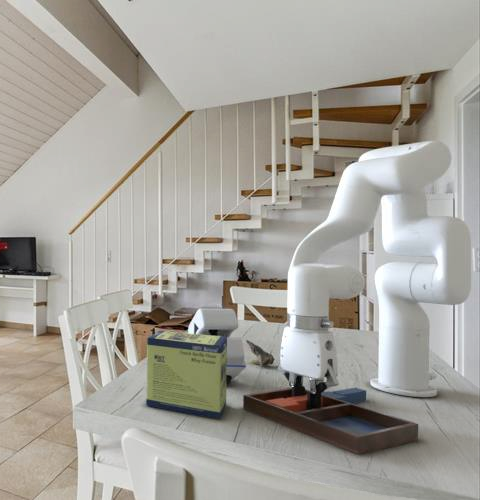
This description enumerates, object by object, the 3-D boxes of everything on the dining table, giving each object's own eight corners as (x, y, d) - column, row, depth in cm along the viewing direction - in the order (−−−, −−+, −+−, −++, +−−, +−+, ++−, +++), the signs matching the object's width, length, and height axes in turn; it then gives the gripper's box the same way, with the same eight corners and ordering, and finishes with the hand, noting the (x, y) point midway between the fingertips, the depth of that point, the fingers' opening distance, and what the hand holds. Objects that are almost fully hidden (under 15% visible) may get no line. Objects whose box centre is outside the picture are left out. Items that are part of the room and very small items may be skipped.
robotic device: (228, 401, 132) (214, 334, 143) (256, 375, 114) (238, 300, 125) (189, 400, 133) (178, 333, 144) (211, 373, 115) (197, 300, 126)
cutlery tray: (297, 399, 111) (297, 386, 111) (418, 440, 88) (418, 423, 88) (243, 408, 105) (243, 394, 105) (358, 454, 83) (358, 437, 83)
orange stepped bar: (308, 403, 106) (308, 392, 106) (326, 409, 103) (326, 398, 102) (265, 410, 102) (265, 399, 102) (282, 417, 98) (282, 405, 98)
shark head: (240, 363, 143) (240, 341, 143) (251, 360, 147) (251, 338, 147) (267, 369, 137) (267, 346, 136) (278, 366, 140) (278, 343, 140)
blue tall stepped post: (351, 396, 113) (352, 386, 113) (370, 402, 109) (370, 391, 109) (313, 403, 109) (313, 392, 109) (330, 409, 105) (331, 398, 105)
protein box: (221, 420, 99) (222, 345, 98) (145, 406, 107) (145, 337, 106) (227, 405, 107) (228, 336, 107) (156, 393, 116) (157, 329, 115)
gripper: (359, 328, 97) (357, 418, 97) (285, 316, 112) (284, 394, 112) (333, 330, 94) (331, 423, 94) (261, 318, 109) (260, 398, 109)
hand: (306, 407), depth 103 cm, fingers closed
